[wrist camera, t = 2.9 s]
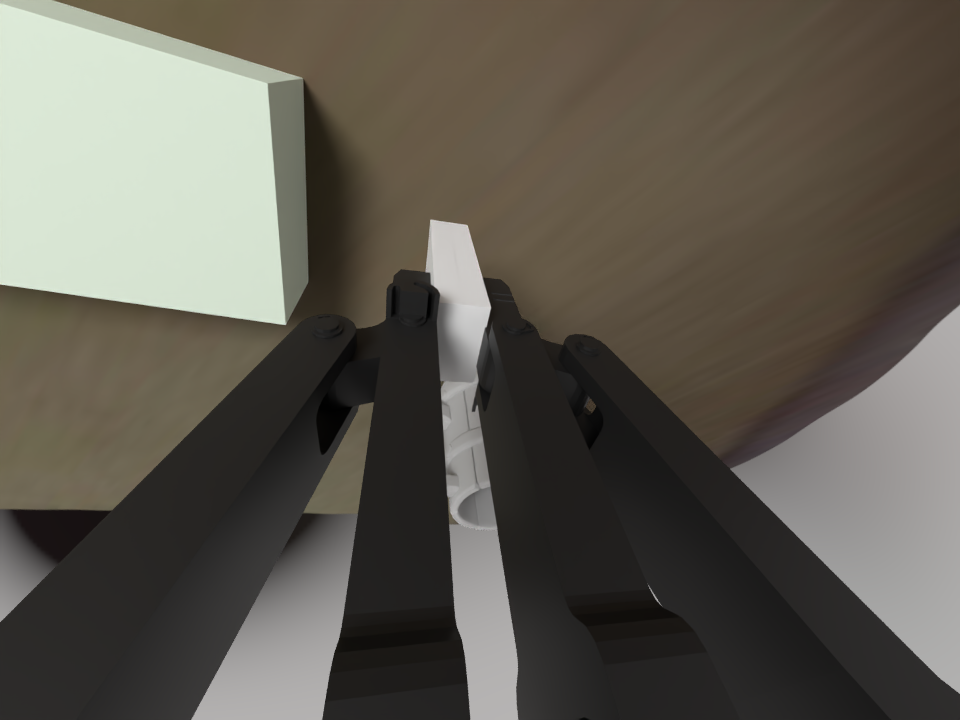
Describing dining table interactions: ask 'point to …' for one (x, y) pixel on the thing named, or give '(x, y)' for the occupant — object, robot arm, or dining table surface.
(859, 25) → the dining table surface
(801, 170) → the dining table surface
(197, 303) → the pale green block
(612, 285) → the dining table surface
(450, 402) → the mug
